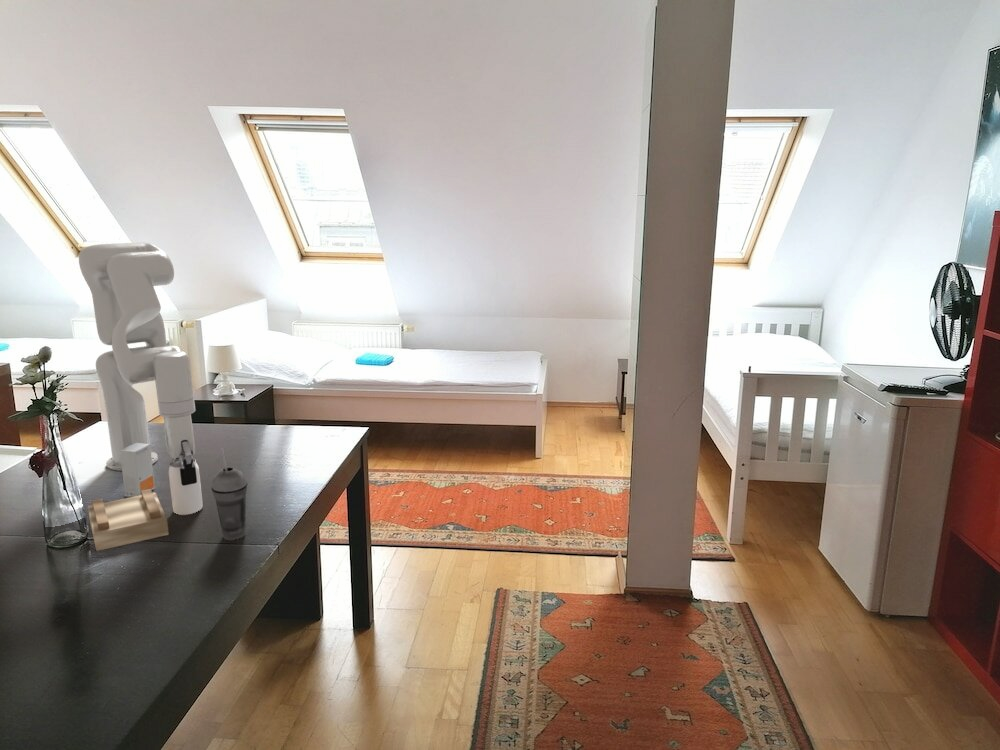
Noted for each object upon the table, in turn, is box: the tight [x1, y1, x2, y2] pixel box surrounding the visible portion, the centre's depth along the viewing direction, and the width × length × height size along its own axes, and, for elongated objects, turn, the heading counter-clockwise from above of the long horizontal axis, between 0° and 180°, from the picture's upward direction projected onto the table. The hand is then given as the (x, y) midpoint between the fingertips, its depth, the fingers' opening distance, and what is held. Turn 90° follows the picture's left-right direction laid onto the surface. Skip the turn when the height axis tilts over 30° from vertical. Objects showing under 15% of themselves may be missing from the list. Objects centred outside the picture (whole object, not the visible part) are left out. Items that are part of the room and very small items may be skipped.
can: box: [168, 458, 204, 516], centre depth 171 cm, size 6×6×12 cm
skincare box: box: [120, 443, 156, 498], centre depth 180 cm, size 6×4×12 cm
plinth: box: [87, 489, 169, 552], centre depth 162 cm, size 16×14×6 cm
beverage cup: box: [211, 447, 248, 541], centre depth 157 cm, size 7×7×20 cm
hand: (185, 477), depth 170 cm, fingers open, 9 cm apart
